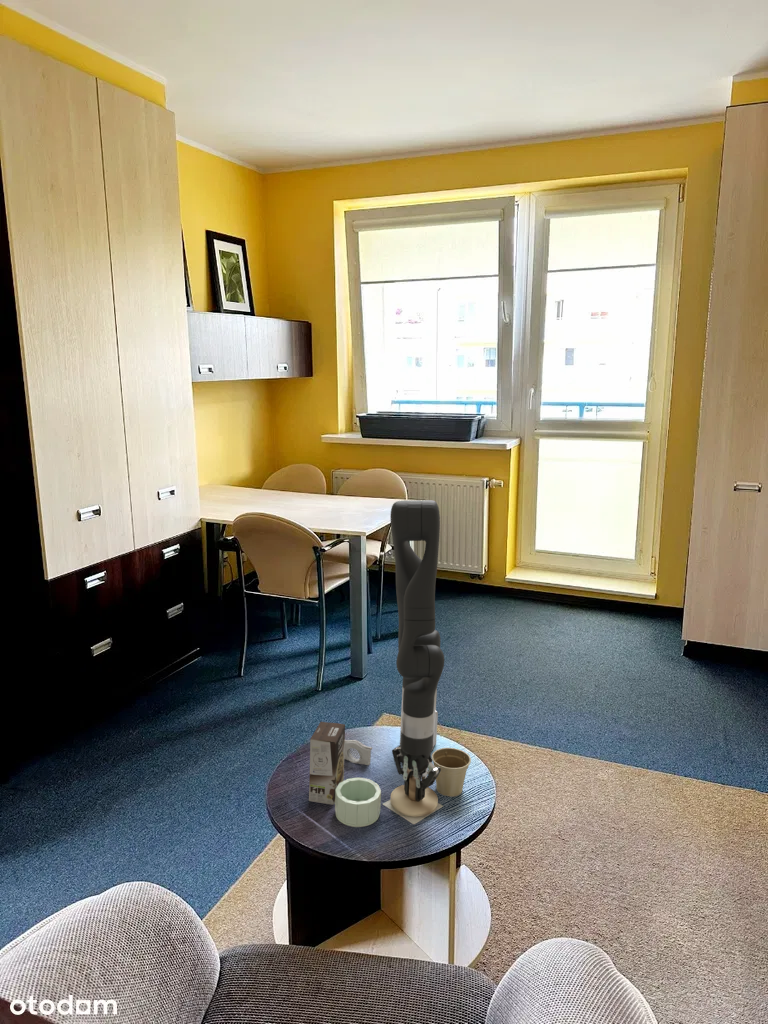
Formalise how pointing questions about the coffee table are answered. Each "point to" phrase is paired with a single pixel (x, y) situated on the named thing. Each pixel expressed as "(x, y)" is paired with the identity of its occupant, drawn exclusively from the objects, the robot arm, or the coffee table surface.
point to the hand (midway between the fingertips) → (414, 796)
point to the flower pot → (451, 770)
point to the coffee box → (326, 762)
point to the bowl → (357, 802)
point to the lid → (413, 800)
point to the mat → (410, 818)
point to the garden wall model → (361, 749)
